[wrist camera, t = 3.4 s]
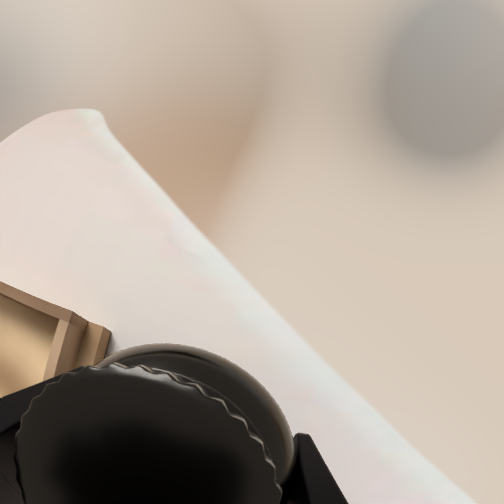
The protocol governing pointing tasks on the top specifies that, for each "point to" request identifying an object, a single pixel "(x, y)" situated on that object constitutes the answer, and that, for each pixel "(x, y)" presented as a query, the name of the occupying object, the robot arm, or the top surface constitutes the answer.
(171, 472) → the supplement bottle
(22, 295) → the hinge jig
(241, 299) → the top surface
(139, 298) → the top surface
